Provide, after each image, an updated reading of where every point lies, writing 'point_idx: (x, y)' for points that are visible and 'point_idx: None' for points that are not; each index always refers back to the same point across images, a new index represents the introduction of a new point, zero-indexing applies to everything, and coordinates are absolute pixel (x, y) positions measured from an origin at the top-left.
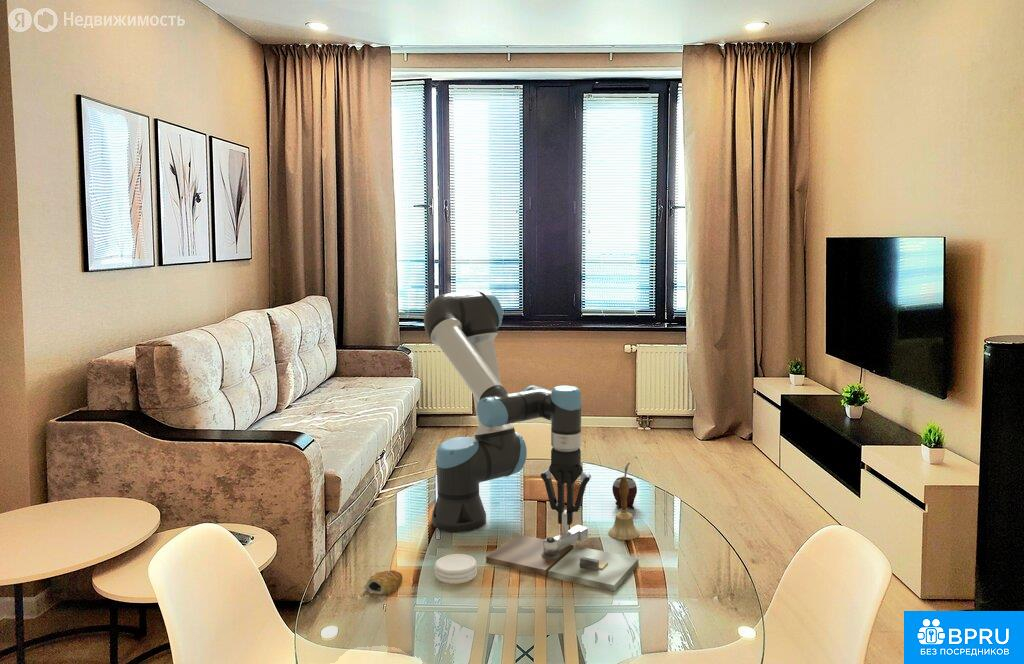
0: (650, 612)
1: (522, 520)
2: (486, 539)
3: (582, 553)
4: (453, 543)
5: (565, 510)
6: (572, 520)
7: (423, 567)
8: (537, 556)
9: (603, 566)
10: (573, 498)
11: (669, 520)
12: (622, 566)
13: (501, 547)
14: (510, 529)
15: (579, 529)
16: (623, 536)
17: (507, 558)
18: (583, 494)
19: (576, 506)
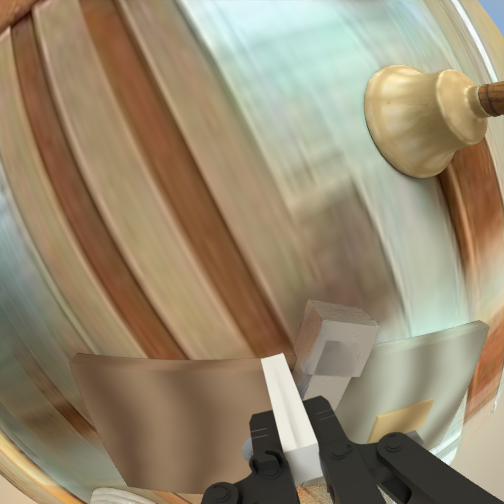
0: (470, 436)
1: (5, 188)
2: (27, 377)
3: (362, 395)
4: (10, 411)
5: (297, 455)
6: (330, 408)
7: (70, 490)
8: (238, 463)
9: (424, 420)
10: (385, 501)
11: (449, 5)
12: (459, 384)
13: (113, 451)
14: (16, 284)
15: (349, 364)
16: (437, 169)
17: (175, 485)
18: (475, 491)
19: (398, 487)
